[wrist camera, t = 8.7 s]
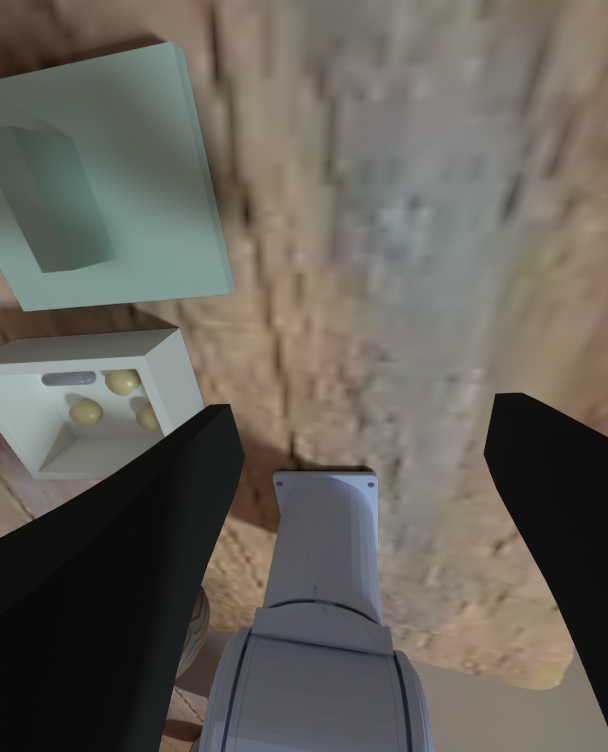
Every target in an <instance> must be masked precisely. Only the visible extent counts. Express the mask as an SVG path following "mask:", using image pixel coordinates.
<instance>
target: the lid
mask: <svg viewBox="0 0 608 752" xmlns="http://www.w3.org/2000/svg"><path fill="white" fill-rule="evenodd" d="M0 269H1V271H2V273H3V275H4V276H5V278H6V280H7V282H8V284H9V285H10V287H11V289H12V291H13V293H14V294H15V296H16V298H17V300H18V302H19V303H20V305H21V307H22V309H23V311H24V312H25V311H37V310H48V309H60V308H72V307H84V306H95V305H107V304H119V303H131V302H142V301H154V300H166V299H177V298H189V297H201V296H213V295H224V294H230V293H231V292H232V291H233V290H235V288H234V283H233V278H232V274H231V269H230V264H229V260H228V255H227V250H226V246H225V241H224V237H223V232H222V227H221V223H220V218H219V213H218V209H217V204H216V199H215V195H214V190H213V185H212V181H211V176H210V172H209V167H208V162H207V158H206V153H205V148H204V144H203V139H202V134H201V130H200V125H199V120H198V116H197V111H196V107H195V102H194V97H193V93H192V88H191V83H190V79H189V74H188V69H187V65H186V60H185V55H184V51H182V50H181V49H180V48H179V47H178V46H177V45H176V44H175V43H173V42H172V41H170V42H166V43H161V44H157V45H152V46H148V47H143V48H138V49H134V50H129V51H125V52H120V53H116V54H111V55H107V56H102V57H98V58H93V59H89V60H84V61H79V62H75V63H70V64H66V65H61V66H57V67H52V68H48V69H43V70H39V71H34V72H30V73H25V74H20V75H16V76H11V77H7V78H2V79H0Z"/></svg>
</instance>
